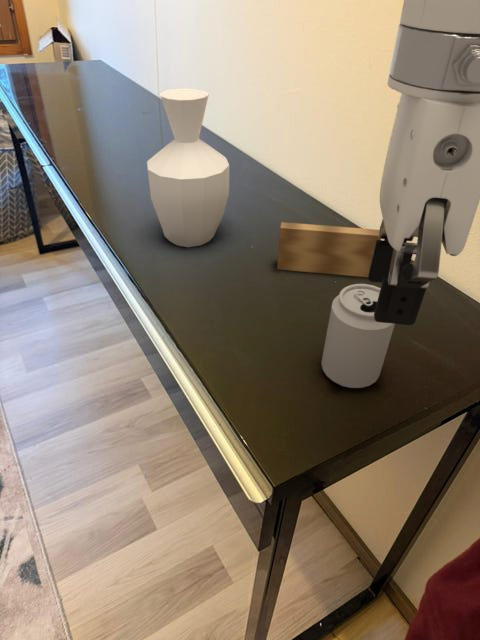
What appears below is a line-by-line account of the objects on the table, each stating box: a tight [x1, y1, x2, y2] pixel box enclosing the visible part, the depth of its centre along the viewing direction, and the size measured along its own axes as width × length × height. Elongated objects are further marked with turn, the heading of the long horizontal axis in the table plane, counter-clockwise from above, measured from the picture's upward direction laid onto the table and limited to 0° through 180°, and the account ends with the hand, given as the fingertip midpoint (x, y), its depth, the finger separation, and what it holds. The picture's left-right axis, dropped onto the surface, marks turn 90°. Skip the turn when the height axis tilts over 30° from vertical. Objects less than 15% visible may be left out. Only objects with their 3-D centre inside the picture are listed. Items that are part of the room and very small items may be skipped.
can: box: [320, 283, 396, 389], centre depth 56 cm, size 8×8×12 cm
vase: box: [146, 87, 230, 248], centre depth 79 cm, size 14×14×25 cm
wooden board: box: [276, 221, 382, 278], centre depth 76 cm, size 16×2×8 cm, turn 82°
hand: (389, 298), depth 39 cm, fingers open, 5 cm apart
